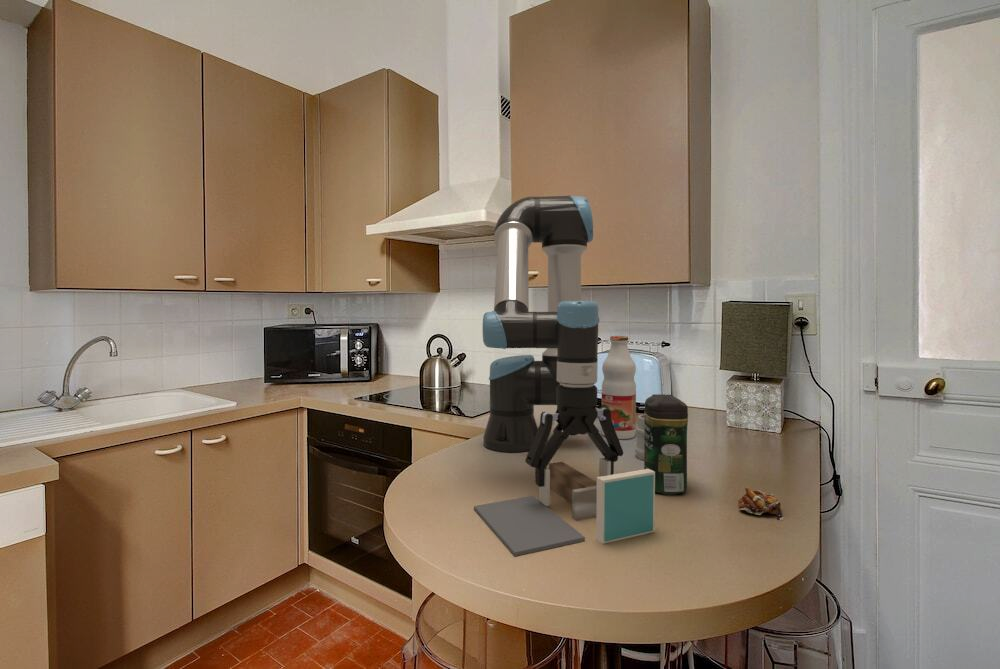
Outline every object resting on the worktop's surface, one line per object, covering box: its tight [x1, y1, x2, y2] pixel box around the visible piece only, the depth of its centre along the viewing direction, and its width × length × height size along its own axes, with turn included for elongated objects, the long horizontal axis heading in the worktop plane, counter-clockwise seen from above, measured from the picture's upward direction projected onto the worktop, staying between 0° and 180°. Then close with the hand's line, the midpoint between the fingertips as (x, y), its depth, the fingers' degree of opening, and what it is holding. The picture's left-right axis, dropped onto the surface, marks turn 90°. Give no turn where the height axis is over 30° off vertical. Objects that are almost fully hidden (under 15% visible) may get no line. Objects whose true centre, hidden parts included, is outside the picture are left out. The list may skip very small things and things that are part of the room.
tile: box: [595, 468, 656, 545], centre depth 78 cm, size 2×10×10 cm, turn 112°
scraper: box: [548, 461, 597, 522], centre depth 92 cm, size 15×9×5 cm, turn 22°
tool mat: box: [473, 495, 586, 557], centre depth 82 cm, size 18×12×1 cm, turn 22°
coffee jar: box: [643, 393, 689, 496], centre depth 98 cm, size 10×8×19 cm
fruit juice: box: [600, 335, 637, 440], centre depth 137 cm, size 9×9×28 cm
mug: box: [634, 413, 645, 461], centre depth 115 cm, size 8×12×12 cm, turn 160°
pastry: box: [737, 485, 785, 522], centre depth 89 cm, size 7×12×4 cm, turn 159°
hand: (575, 498), depth 91 cm, fingers open, 12 cm apart
